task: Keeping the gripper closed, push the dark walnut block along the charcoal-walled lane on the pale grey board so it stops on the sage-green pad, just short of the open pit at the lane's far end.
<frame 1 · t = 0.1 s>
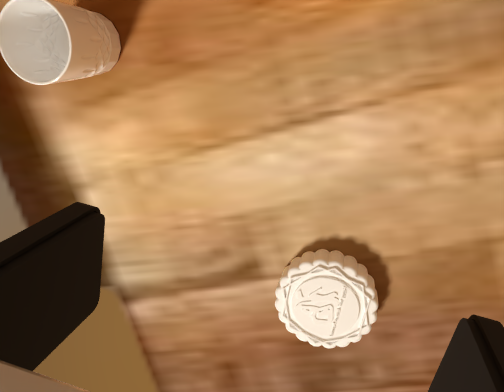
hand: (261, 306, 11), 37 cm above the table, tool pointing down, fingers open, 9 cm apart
mooncake: (326, 291, 52), on the table
white cup: (95, 43, 48), on the table
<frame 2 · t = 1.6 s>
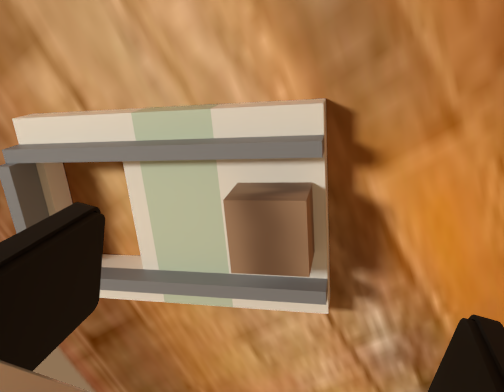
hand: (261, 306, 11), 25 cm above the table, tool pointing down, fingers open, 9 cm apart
lane board: (180, 205, 39), on the table
walnut block: (276, 217, 34), point 2 cm above the table, touching lane board
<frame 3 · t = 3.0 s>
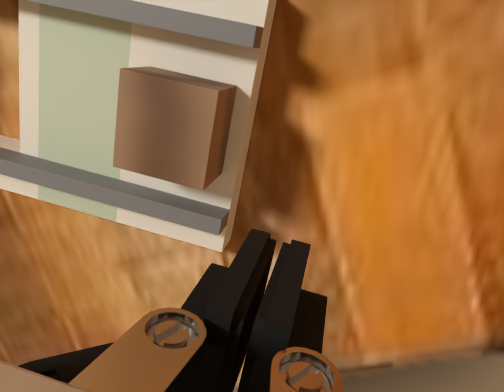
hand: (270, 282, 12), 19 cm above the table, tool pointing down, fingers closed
lane board: (83, 87, 32), on the table
walnut block: (187, 120, 28), point 2 cm above the table, touching lane board
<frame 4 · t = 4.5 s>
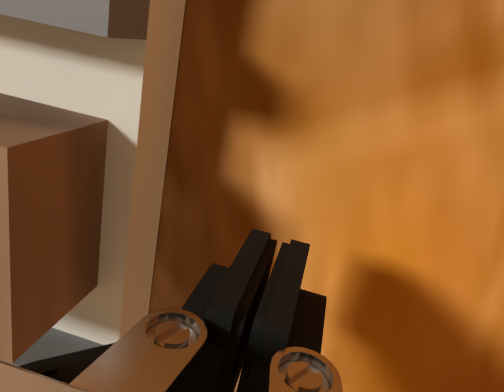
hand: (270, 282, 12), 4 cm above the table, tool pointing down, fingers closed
walnut block: (22, 186, 14), point 2 cm above the table, touching lane board
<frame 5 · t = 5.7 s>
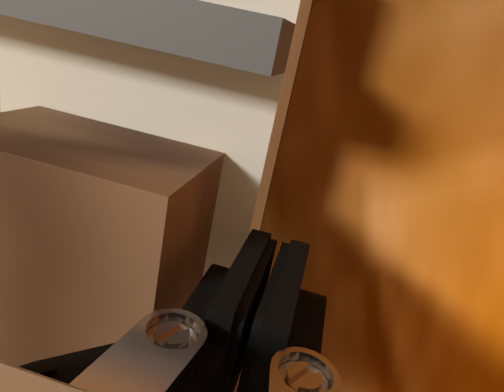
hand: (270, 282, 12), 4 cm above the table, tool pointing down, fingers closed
walnut block: (120, 218, 13), point 3 cm above the table, touching gripper, lane board
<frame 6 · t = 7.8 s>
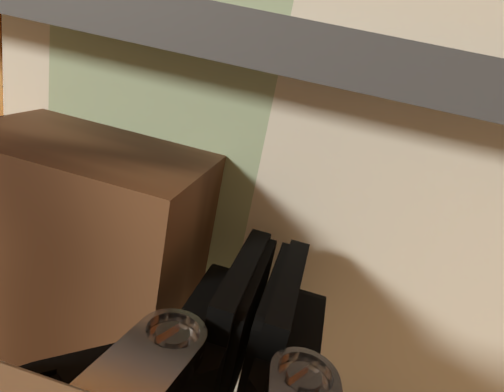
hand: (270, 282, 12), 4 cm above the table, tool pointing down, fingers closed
lane board: (135, 186, 16), on the table
walnut block: (123, 220, 14), point 2 cm above the table, touching gripper, lane board
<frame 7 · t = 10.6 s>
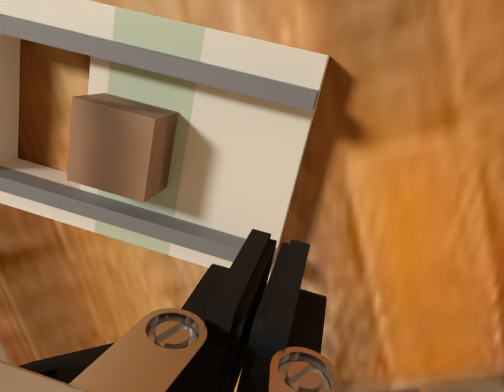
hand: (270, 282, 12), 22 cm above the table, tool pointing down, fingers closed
lane board: (141, 131, 35), on the table
walnut block: (136, 140, 32), point 2 cm above the table, touching lane board
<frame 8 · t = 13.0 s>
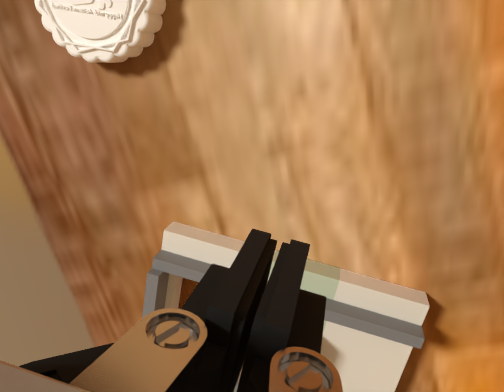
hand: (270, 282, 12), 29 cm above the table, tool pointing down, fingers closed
lane board: (275, 324, 47), on the table
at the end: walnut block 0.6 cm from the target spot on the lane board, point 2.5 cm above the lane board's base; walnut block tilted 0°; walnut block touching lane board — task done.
